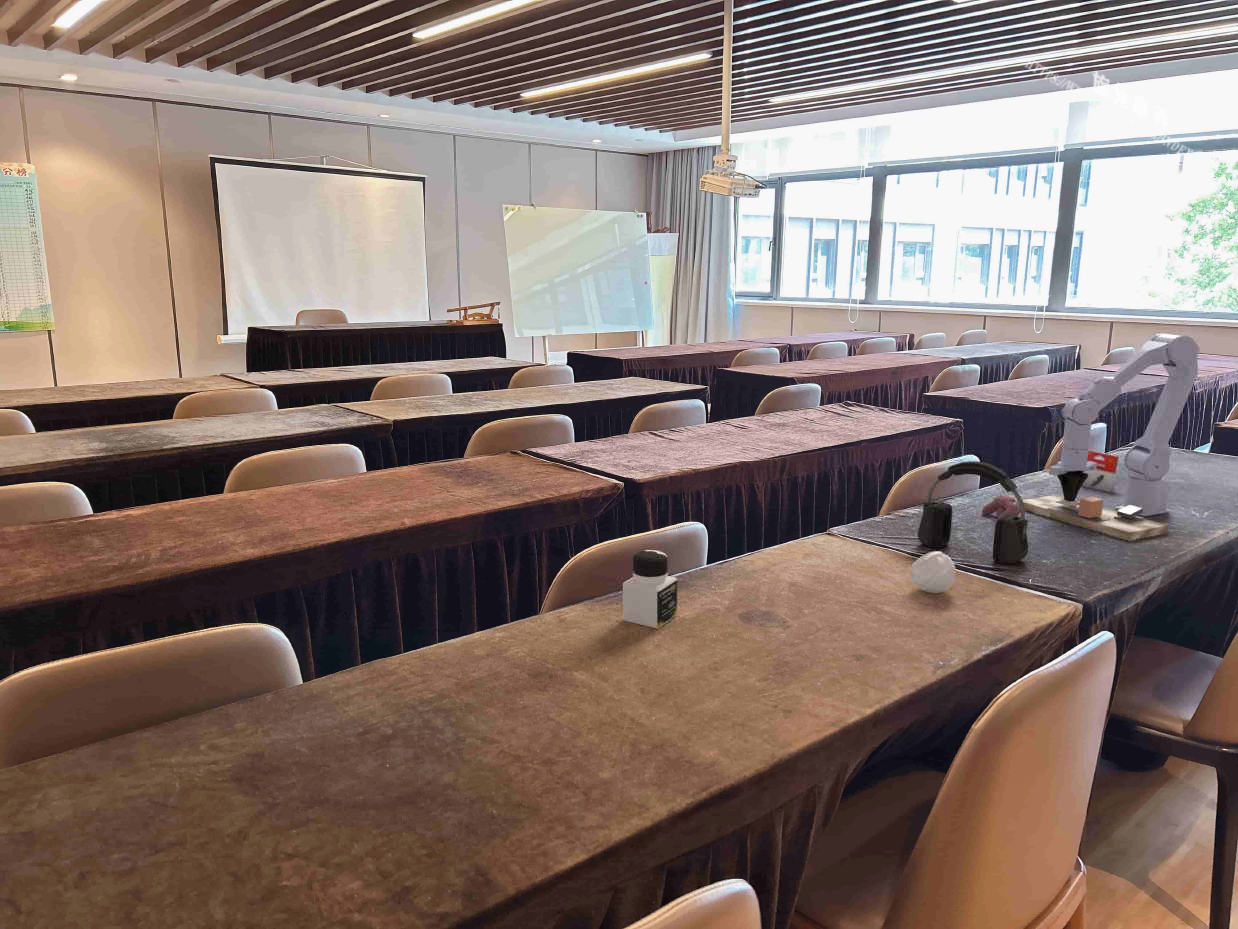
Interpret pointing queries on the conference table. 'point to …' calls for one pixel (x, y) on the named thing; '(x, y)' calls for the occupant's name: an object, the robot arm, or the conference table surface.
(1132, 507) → the rocker switch
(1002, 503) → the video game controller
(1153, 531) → the control panel
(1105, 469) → the ink cartridge box
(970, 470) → the headphones
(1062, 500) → the push button
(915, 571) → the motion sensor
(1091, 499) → the slide paddle
